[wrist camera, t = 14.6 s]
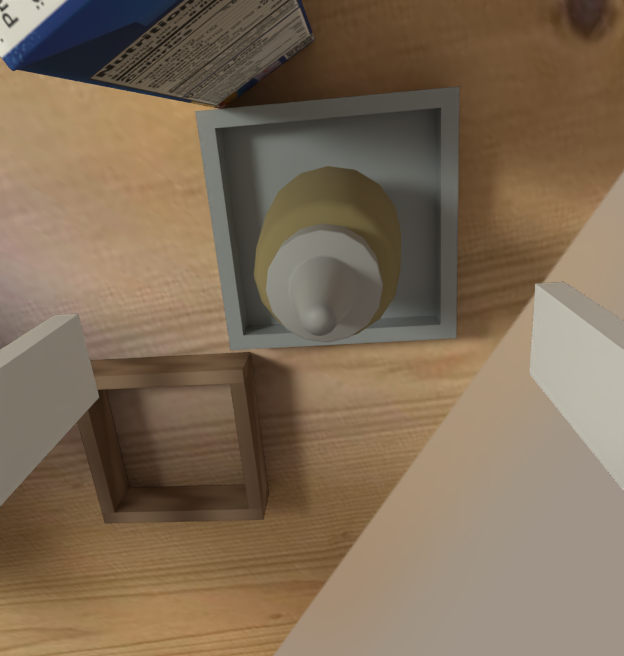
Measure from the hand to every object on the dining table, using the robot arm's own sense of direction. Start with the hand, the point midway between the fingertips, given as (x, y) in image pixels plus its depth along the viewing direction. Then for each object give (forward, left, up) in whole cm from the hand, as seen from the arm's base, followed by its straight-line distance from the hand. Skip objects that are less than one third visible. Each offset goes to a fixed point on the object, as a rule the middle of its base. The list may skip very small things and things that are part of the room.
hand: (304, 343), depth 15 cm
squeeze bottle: (0, 0, -20) cm, 20 cm away
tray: (0, 0, -21) cm, 21 cm away
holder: (-13, -15, -21) cm, 29 cm away
